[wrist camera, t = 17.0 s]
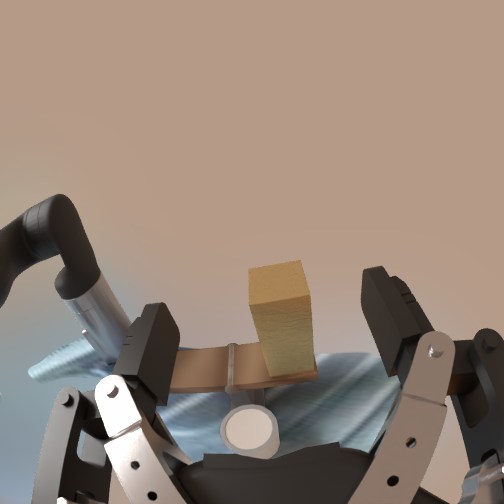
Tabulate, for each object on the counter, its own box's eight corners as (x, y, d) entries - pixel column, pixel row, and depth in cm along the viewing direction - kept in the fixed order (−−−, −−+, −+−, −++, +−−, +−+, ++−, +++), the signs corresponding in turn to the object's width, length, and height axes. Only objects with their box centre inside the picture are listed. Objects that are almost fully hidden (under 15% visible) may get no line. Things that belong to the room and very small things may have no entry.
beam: (309, 339, 34) (308, 331, 33) (318, 382, 28) (318, 375, 27) (166, 355, 35) (162, 349, 34) (158, 395, 30) (152, 390, 29)
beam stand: (263, 376, 39) (253, 346, 35) (266, 421, 33) (255, 397, 28) (232, 380, 40) (217, 350, 35) (231, 423, 33) (213, 400, 29)
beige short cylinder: (241, 471, 26) (226, 461, 23) (229, 430, 32) (214, 412, 28) (291, 455, 27) (286, 442, 24) (275, 416, 33) (267, 396, 29)
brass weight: (307, 338, 32) (300, 260, 26) (314, 371, 28) (310, 294, 21) (267, 345, 32) (248, 269, 26) (270, 378, 28) (249, 304, 22)
